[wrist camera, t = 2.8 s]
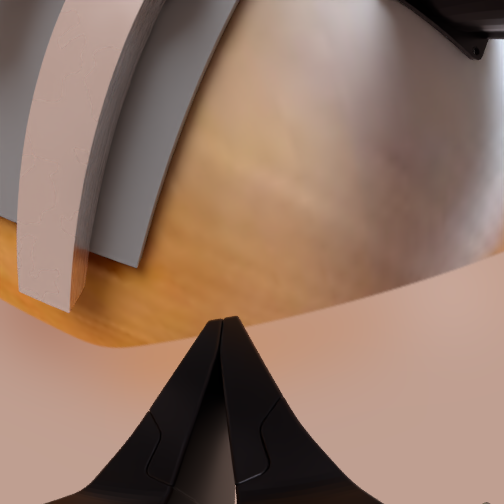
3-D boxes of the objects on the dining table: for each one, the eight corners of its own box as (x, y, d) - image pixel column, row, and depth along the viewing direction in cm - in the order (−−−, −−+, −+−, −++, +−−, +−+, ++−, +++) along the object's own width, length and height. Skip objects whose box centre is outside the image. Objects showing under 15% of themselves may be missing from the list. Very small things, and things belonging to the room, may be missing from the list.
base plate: (301, -99, 7) (305, -109, 6) (141, 257, 15) (136, 268, 15) (-13, -96, 2) (-20, -99, 1) (-92, 164, 10) (-101, 169, 10)
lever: (130, -94, 5) (107, -126, 3) (240, -79, 7) (242, -118, 4) (24, 261, 14) (-6, 296, 11) (102, 292, 15) (81, 335, 12)
